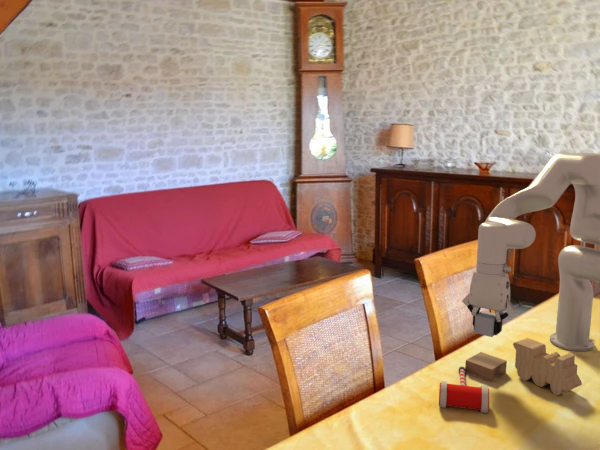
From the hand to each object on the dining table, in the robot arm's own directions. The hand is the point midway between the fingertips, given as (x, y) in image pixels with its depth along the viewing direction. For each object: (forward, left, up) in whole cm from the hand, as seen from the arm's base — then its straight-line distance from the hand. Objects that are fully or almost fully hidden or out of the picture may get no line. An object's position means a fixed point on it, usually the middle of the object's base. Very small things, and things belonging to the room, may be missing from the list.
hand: (486, 330), depth 150 cm
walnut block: (-1, 0, -13) cm, 13 cm away
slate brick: (0, 0, -1) cm, 1 cm away
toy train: (-4, +15, -13) cm, 20 cm away
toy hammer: (+16, 0, -13) cm, 21 cm away
